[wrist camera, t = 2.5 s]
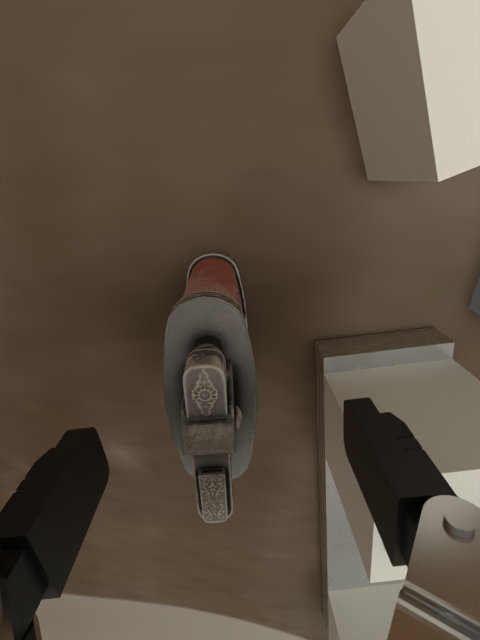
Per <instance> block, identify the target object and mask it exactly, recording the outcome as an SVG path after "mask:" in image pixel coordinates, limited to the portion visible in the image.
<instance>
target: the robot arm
mask: <svg viewBox="0 0 480 640" xmlns="http://www.w3.org/2000/svg"><path fill="white" fill-rule="evenodd" d="M343 438H344V446H345V451H346V455H347V458H348V460H349V463H350V465H351V468H352V470H353V472H354V475H355V477H356V480H357V482H358V484H359V487H360V489H361V492H362V494H363V496H364V499H365V501H366V504H367V506H368V508H369V511H370V513H371V516H372V518H373V521H374V523H375V525H376V528H377V530H378V533H379V535H380V537H381V540H382V542H383V545H384V547H385V549H386V552H387V554H388V557H389V559H390V561H391V564H392V566H393V567H395V566H405V565H407V567H408V569H407V574H406V578H405V582H404V585H403V588H402V589H401V590H400V592H399V595H398V599H397V602H396V606H395V610H394V614H393V618H392V622H391V626H390V630H389V634H388V638H387V640H480V508H479V507H477V506H476V505H474V504H472V503H471V502H469V501H466V500H464V499H462V498H459V497H458V496H457V495H456V494H455V492H454V491H453V489H452V488H451V487H450V485H449V484H448V482H447V481H446V480H445V478H444V477H443V475H442V474H441V473H440V471H439V470H438V468H437V467H436V466H435V464H434V463H433V461H432V460H431V459H430V457H429V456H428V454H427V453H426V452H425V450H423V449H422V446H421V445H420V443H419V442H418V440H417V439H415V437H414V435H413V433H412V432H411V431H410V429H409V428H408V426H407V425H406V424H405V422H403V421H402V420H401V419H399V418H398V417H396V416H395V415H393V414H392V413H391V412H384V413H380V412H379V411H378V409H377V408H376V406H375V405H374V403H373V401H372V400H371V399H370V398H369V397H366V398H357V399H348V400H344V404H343ZM108 477H109V465H108V461H107V458H106V455H105V453H104V450H103V447H102V444H101V441H100V439H99V436H98V433H97V431H96V429H95V428H93V427H90V428H81V429H72V430H68V431H67V432H66V433H65V434H64V435H63V437H62V438H61V440H60V441H59V443H58V444H57V446H56V447H55V448H51V449H50V450H49V451H47V452H46V453H45V454H44V455H43V456H42V457H41V458H39V459H38V460H37V461H36V462H35V463H34V465H33V466H32V468H31V469H30V471H29V472H28V473H27V475H26V476H25V480H23V481H22V482H21V483H20V485H19V486H18V488H17V489H16V493H13V495H12V496H11V498H10V499H9V501H8V502H7V503H6V505H5V506H4V508H3V509H2V511H1V512H0V640H42V638H41V632H40V627H39V621H38V618H37V616H36V614H35V612H36V610H37V608H38V606H39V604H40V601H41V599H51V598H60V596H61V593H62V591H63V589H64V586H65V584H66V581H67V579H68V576H69V574H70V572H71V569H72V567H73V564H74V562H75V560H76V557H77V555H78V552H79V550H80V548H81V545H82V543H83V540H84V538H85V535H86V533H87V531H88V528H89V526H90V523H91V521H92V519H93V516H94V514H95V511H96V509H97V507H98V504H99V502H100V499H101V497H102V494H103V492H104V490H105V487H106V485H107V482H108Z"/></svg>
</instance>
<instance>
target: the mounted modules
mask: <svg viewBox="0 0 480 640" xmlns="http://www.w3.org/2000/svg"><path fill="white" fill-rule="evenodd" d="M366 397H369V398H370V399H371V400H372V401H373V403H374V405H375V406H376V408H377V409H378V411H379V412H380V413H384V412H391V413H392V414H393V415H395V416H396V417H398V418H399V419H401V420H402V421H403V422H405V424H406V425H407V426H408V428H409V429H410V431H411V432H412V433H413V435H414V437H415V439H417V440H418V442H419V443H420V445H421V446H422V449H423V450H425V452H426V453H427V454H428V456H429V457H430V459H431V460H432V461H433V463H434V464H435V466H436V467H437V468H438V470H439V471H440V473H441V474H442V475H443V477H444V478H445V480H446V481H447V482H448V484H449V485H450V487H451V488H452V489H453V491H454V492H455V494H456V495H457V496H458V497H459V498H462V499H464V500H466V501H469V502H471V503H472V504H474V505H476V506H477V507H479V508H480V381H479V380H478V379H477V378H475V377H474V376H473V375H472V374H470V373H469V372H468V371H467V370H466V369H464V368H463V367H462V366H461V365H459V364H458V363H457V362H456V361H454V360H453V359H445V360H437V361H428V362H420V363H411V364H403V365H395V366H386V367H378V368H369V369H361V370H352V371H344V372H335V373H327V374H324V410H325V457H326V460H327V463H328V465H329V468H330V471H331V474H332V477H333V480H334V482H335V485H336V488H337V491H338V494H339V496H340V499H341V502H342V505H343V508H344V511H345V513H346V516H347V519H348V522H349V525H350V528H351V530H352V533H353V536H354V539H355V542H356V545H357V547H358V550H359V553H360V556H361V559H362V562H363V564H364V567H365V570H366V573H367V576H368V579H369V581H370V583H375V582H384V581H393V580H402V579H405V578H406V574H407V569H408V567H407V565H405V566H395V567H393V566H392V564H391V561H390V559H389V557H388V554H387V552H386V549H385V547H384V545H383V542H382V540H381V537H380V535H379V533H378V530H377V528H376V525H375V523H374V521H373V518H372V516H371V513H370V511H369V508H368V506H367V504H366V501H365V499H364V496H363V494H362V492H361V489H360V487H359V484H358V482H357V480H356V477H355V475H354V472H353V470H352V468H351V465H350V463H349V460H348V458H347V455H346V451H345V446H344V438H343V404H344V400H348V399H357V398H366ZM403 585H404V583H396V584H387V585H378V586H369V587H360V588H351V589H342V590H333V591H328V628H329V637H330V640H387V638H388V634H389V630H390V626H391V622H392V618H393V614H394V610H395V606H396V602H397V599H398V595H399V592H400V590H401V589H402V588H403Z"/></svg>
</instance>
